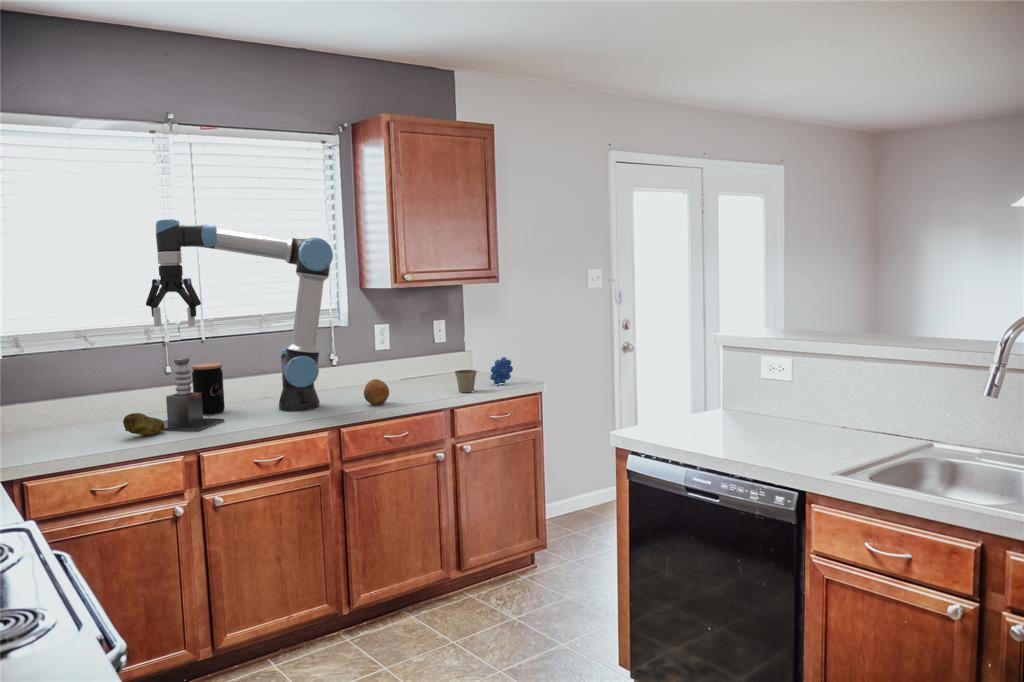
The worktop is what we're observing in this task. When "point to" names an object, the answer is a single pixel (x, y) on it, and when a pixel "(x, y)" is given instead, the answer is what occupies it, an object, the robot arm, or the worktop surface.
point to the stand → (187, 413)
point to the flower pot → (465, 380)
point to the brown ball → (376, 392)
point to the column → (182, 376)
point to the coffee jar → (209, 386)
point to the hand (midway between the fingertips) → (174, 326)
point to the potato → (142, 424)
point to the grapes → (501, 371)
